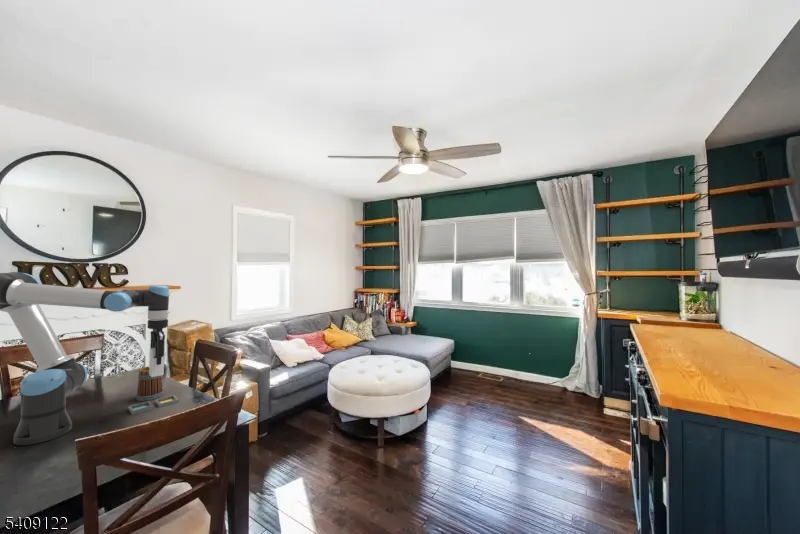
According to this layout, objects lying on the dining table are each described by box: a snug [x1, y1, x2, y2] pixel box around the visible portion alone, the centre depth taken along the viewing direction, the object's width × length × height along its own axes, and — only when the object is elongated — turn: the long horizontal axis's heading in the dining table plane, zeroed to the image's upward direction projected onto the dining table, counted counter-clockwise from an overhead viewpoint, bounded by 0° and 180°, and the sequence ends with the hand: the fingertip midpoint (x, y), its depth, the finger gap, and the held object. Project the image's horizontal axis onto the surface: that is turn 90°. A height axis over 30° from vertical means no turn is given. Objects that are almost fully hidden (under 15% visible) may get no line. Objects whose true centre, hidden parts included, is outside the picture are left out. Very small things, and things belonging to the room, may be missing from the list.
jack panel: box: [127, 394, 180, 415], centre depth 149 cm, size 18×11×2 cm, turn 138°
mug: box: [135, 363, 168, 402], centre depth 161 cm, size 16×11×15 cm
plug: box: [148, 348, 166, 377], centre depth 150 cm, size 5×4×14 cm
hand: (156, 370), depth 150 cm, fingers closed on plug, 4 cm apart
